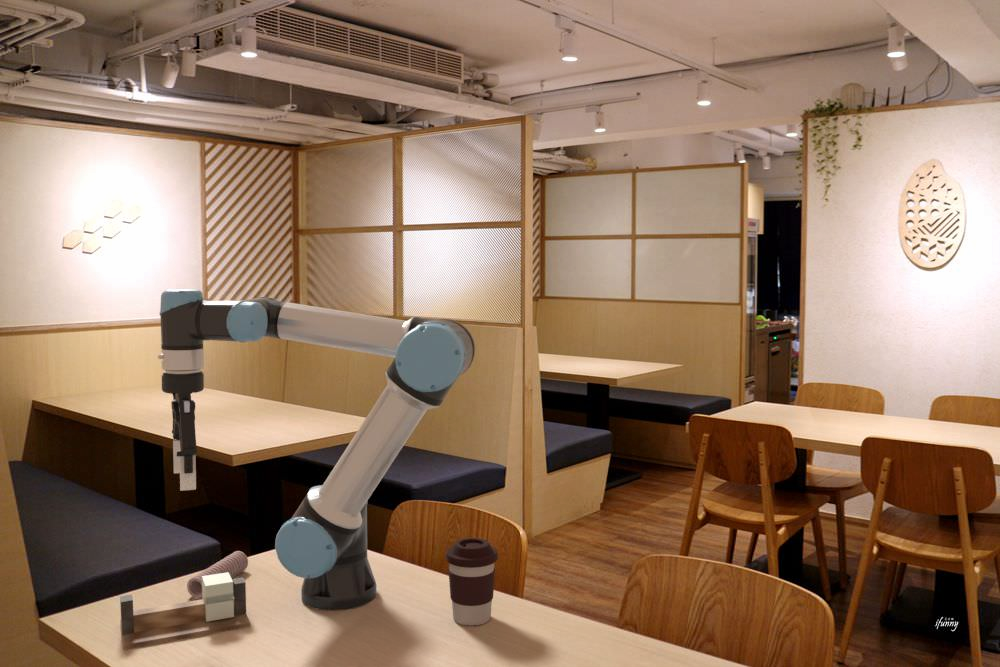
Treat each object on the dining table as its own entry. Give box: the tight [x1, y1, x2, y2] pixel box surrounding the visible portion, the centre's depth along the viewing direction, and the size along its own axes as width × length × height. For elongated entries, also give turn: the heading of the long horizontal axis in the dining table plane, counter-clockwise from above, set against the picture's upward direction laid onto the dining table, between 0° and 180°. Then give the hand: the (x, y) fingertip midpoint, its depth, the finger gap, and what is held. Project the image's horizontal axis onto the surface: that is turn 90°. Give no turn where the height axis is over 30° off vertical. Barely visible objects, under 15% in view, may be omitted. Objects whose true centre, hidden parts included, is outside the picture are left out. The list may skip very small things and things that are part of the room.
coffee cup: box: [445, 537, 499, 627], centre depth 166 cm, size 10×10×15 cm
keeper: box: [201, 572, 234, 622], centre depth 165 cm, size 5×6×7 cm
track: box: [119, 576, 251, 650], centre depth 163 cm, size 22×12×7 cm, turn 116°
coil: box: [186, 550, 249, 601], centre depth 184 cm, size 5×5×18 cm
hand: (184, 481), depth 165 cm, fingers open, 13 cm apart
